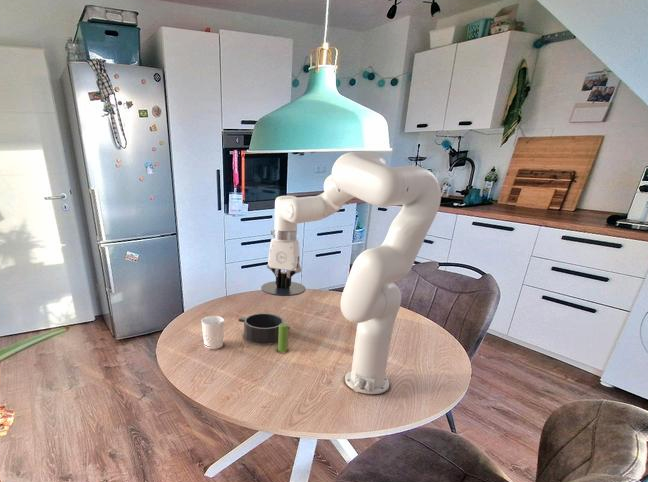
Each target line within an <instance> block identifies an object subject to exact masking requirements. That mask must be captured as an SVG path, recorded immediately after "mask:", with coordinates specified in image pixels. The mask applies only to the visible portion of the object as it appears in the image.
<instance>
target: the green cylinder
mask: <svg viewBox="0 0 648 482" xmlns="http://www.w3.org/2000/svg"><path fill="white" fill-rule="evenodd" d="M288 326H289V324H288V323H286V322H284V323H281V324H279V336H278V342H277V350H278V352H281V353H284V352H288V346H289V345H288V342H289V330H288Z"/></svg>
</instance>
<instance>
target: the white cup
mask: <svg viewBox="0 0 648 482" xmlns="http://www.w3.org/2000/svg"><path fill="white" fill-rule="evenodd" d="M200 322H201V331H202V338H203V344H205V345H207V346H211V347H207V346H205V345H204V347H205V348H206V349H209V350H216V349H219V348H222V347H223V346H224V337H225V335H224V333H225V319H224V318H223V317H222V316H219V315H208V316H205V317H203V318H201V321H200ZM220 345H221V346H220ZM216 346H219V347H216Z"/></svg>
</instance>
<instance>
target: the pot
mask: <svg viewBox="0 0 648 482" xmlns="http://www.w3.org/2000/svg"><path fill="white" fill-rule="evenodd" d="M238 322H240V323H243V337H244V338H245V339H246V340H247V341H249V342H251V343H253V344H254V343H255V344H258V345H269V344H275V343H278V336H279V324H281V323H285V320H284V319H283V317H281V316H279V315H277V314H275V313H267V312H265V313H254V314H250V315H248V316H246V317H244V316H241V317H239V318H238ZM290 329H291V326H290V325H288V331H289V330H290Z"/></svg>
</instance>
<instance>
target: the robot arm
mask: <svg viewBox="0 0 648 482" xmlns="http://www.w3.org/2000/svg"><path fill="white" fill-rule="evenodd" d="M354 198H357V199H358V200H361V201H363V202H365V203H366V204H367V203H368V204H370V205H372V206H375V207H378V208H379V207H381V208H388V207H394V206H401V205H402V206H401V209H400V211H399V213H397V215H396V216H395V217H394V219H393V220H392V222H391V224H390V226H389V228H388V231H387V233H386V236H385V238H384V240H383V242H382V243H381V244H380V245H379V246H375V247H371V248H368V249H365V250H364V251H362V252H360V254H359V255H357V257H356V258H355V260H354V261H353V263H352V266H351V268H350V270H349V274H348V276H347V279H346V281H345V284H344V288H343V291H342V293H341V297H340V311H341V314H342V316H343V317H344V318H345V320H347V321H348V322H350V323H353V324H357V326H356V331H355V337H354V338H355V339H354V346H353V355H352V363H351V370H350V371H348V372H347V373H346V374H345V376H344V382H345V384H346V386H348V387H349V388H350V389H352V390H353V392H356V393H361V394H365V395H379V394H383V393H386V392H387V391H388V390H389V388H390V381H389V379H388V378H387V377H386V372H387V368H388V367H387V366H388V360H389V354H390V348H391V342H392V338H393V337H392V336H393V331H394V326H395V322H396V319H397V316H398V313H399V310H400V308H401V304H402V292H401V290H400V287H399V286H398V285H397V283H396V282H398V281H401V280H403V279H405V278H406V277H407V276H408V275H409V273H410V272H411V270H412V268H413V266H414V263H415V262H416V259H417V257H418V254H419V252H420V251H421V248H422V246H423V245H424V241H425V239H426V237H427V235H428V233H429V231H430V228H431V226H432V224H433V223H434V221H435V218H436V216H437V214H438V212H439V209H440V206H441V202H442V201H441V200H442V190H441V186H440V182H439V180H438V178H437V177H436V176H435V174H434V173H433V172H432V171H431V170H429V169H427V168H425V167H423V166H418V165H399V166H388V164H387V162H386V160H385V158H384V156H382V155H381V154H379V153H378V152H373V151H350V152H347V153H346V152H345V153H344V154H342V155H340V156H339V157H338V158H337V159H336V161H335V162H334V163H333V165H332V168H331V174H330V175H328V176H327V177H326V178H325V180H324V181H323V192H322V193H319V194H318V195H315V196H314V195H313V196H303V197H297V196H295V195H280V196H277V197H276V198H275V201H274V224H273V225H274V226H273V227H274V228H273V229H272V230H270V235H272V236H273V237H272V238H271V239H270V245H269V250H268V259H267V260H268V261H267V265H266V268H267V269H268V270H269V271H271V272H272V273H273V275H274V276H275V281H276V285H277V288H279V287H280V272H282V271H286V272H287V276H286V278H285V289H288V288H289V287H290V286H291V282H292V277H293V276H294V275H296V274H298V273H301V272H302V271H303V270H302V267H301V264H300V263H301V261H300V260H301V255H300V254H301V253H300V243H299V239H298V238H297V236H298V235H297V234H298V224H303V223H309V222H318V221H322V220H324V219H326V218H329V217H330V216H332V215H334V214H335V213H337V212H339V211H340V210H341V209H342V208H343V206H344V204H345V203H347V202H349V201H351V200H352V199H354Z"/></svg>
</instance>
